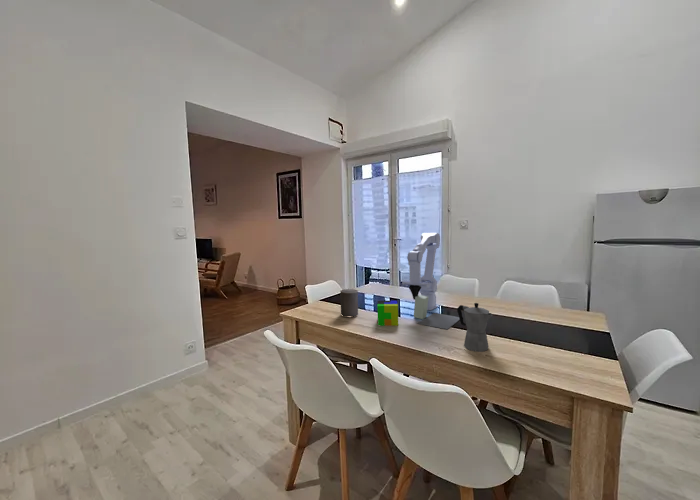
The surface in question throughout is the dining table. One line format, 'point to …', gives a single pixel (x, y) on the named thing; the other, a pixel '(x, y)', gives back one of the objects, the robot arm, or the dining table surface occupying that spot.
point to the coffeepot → (475, 327)
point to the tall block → (420, 307)
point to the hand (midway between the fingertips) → (415, 299)
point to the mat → (439, 321)
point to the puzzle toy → (387, 313)
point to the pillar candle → (349, 302)
